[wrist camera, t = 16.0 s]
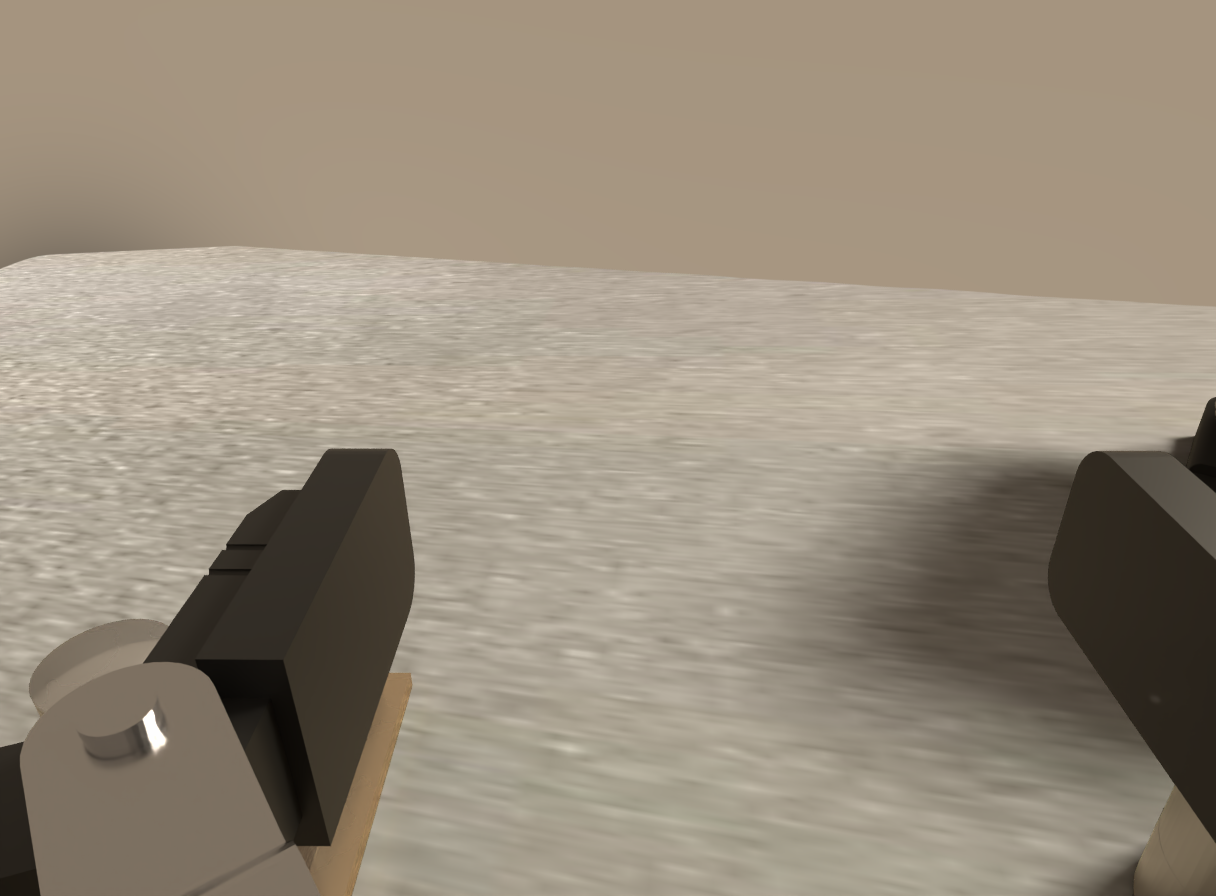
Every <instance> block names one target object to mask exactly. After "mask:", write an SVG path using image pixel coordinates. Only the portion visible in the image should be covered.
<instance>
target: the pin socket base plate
mask: <svg viewBox="0 0 1216 896" xmlns="http://www.w3.org/2000/svg"><path fill="white" fill-rule="evenodd" d="M411 689H412V679H411V673H389V674H388V677H387V680H386V683H385V686H384V689H383V692H382V695H381V698H380V701H379V704H378V707H377V710H376V713H375V716H374V719H373V722H372V725H371V728H370V731H369V734H368V737H367V740H366V743H365V746H364V749H363V752H362V755H361V758H360V761H359V764H358V767H357V770H356V773H355V776H354V779H353V782H352V785H351V788H350V790H349V793H348V796H347V799H346V802H345V805H344V808H343V811H342V814H341V817H340V820H339V823H338V826H337V829H336V832H335V835H334V838H333V841H332V844H331V846H297V848H298V850H299V851H300V853H301V855H302V857H303V859H304V861H305V863H306V865H307V867H308V869H309V872H310V874H311V876H312V878H313V880H314V882H315V884H316V887H317V889H318V891H319V893H320V895H321V896H352V892H353V889H354V885H355V882H356V878H357V875H358V871H359V868H360V865H361V861H362V858H363V854H364V851H365V847H366V844H367V840H368V837H369V833H370V830H371V827H372V823H373V820H374V816H375V813H376V809H377V806H378V802H379V799H380V796H381V792H382V789H383V785H384V782H385V778H386V775H387V771H388V768H389V765H390V761H391V758H392V754H393V751H394V747H395V744H396V740H397V737H398V734H399V730H400V727H401V723H402V720H403V716H404V713H405V709H406V706H407V702H408V699H409V696H410V692H411Z"/></svg>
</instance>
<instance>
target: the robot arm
mask: <svg viewBox="0 0 1216 896" xmlns="http://www.w3.org/2000/svg"><path fill="white" fill-rule="evenodd" d="M226 546H227V548H226V550H222V551H221V553H220V554H219V555H218V557H217V558H216V560H215V561H214V562H213V564H212V565H211V567H210V568H209V575H204V577H203V578H202V580H201V581H200V582H199V584H198V585H197V587H196V588H195V590H194V591H193V592H192V594H191V595H190V597H189V598H188V600H187V601H186V602H185V604H184V605H183V607H182V608H181V610H180V611H179V612H178V614H177V615H176V617H175V618H174V620H173V621H172V622H171V624H170V625H169V627H168V628H167V630H166V631H165V632H164V634H163V635H162V637H161V638H160V640H159V641H158V642H157V644H156V645H155V647H154V648H153V650H152V651H151V652H150V654H149V655H148V657H147V658H146V659H145V661H144V662H143V664H138V665H133V666H129V667H125V668H121V669H118V670H115V671H112V672H110V673H107V674H104V675H102V676H100V677H97V678H95V679H93V680H91V681H89V682H87V683H85V684H83V685H82V686H80V687H78V688H76V689H75V690H73V691H72V692H70V693H69V694H67V695H66V696H64V697H63V698H61V699H60V700H59V701H58V702H56V703H55V704H54V705H53V706H52V707H50V708H49V709H48V710H47V711H46V712H45V713H44V714H43V715H42V716H41V717H40V719H39V720H38V721H37V722H36V723H35V725H34V726H33V728H32V729H31V730H30V732H29V733H28V735H27V737H26V739H25V741H24V742H21V743H17V744H13V745H9V746H4V747H0V896H321V895H320V893H319V891H318V889H317V887H316V884H315V882H314V880H313V878H312V876H311V874H310V872H309V869H308V867H307V865H306V863H305V861H304V859H303V857H302V855H301V853H300V851H299V850H298V848H297V846H331V844H332V841H333V838H334V835H335V832H336V829H337V826H338V823H339V820H340V817H341V814H342V811H343V808H344V805H345V802H346V799H347V796H348V793H349V790H350V788H351V785H352V782H353V779H354V776H355V773H356V770H357V767H358V764H359V761H360V758H361V755H362V752H363V749H364V746H365V743H366V740H367V737H368V734H369V731H370V728H371V725H372V722H373V719H374V716H375V713H376V710H377V707H378V704H379V701H380V698H381V695H382V692H383V689H384V686H385V683H386V680H387V677H388V674H389V671H390V668H391V665H392V662H393V659H394V656H395V653H396V650H397V647H398V644H399V641H400V638H401V635H402V632H403V630H404V627H405V624H406V621H407V618H408V615H409V612H410V608H411V604H412V599H413V592H414V581H415V564H414V554H413V547H412V540H411V533H410V526H409V519H408V512H407V505H406V498H405V491H404V484H403V477H402V470H401V465H400V461H399V457H398V455H397V453H396V451H395V450H394V449H328V450H327V451H326V452H325V453H324V455H323V456H322V458H321V459H320V461H319V463H318V464H317V466H316V467H315V469H314V471H313V472H312V474H311V475H310V477H309V479H308V480H307V482H306V483H305V485H304V487H303V488H302V490H282V491H280V492H279V493H277V494H276V495H275V496H273V497H272V498H270V499H269V500H267V501H266V502H265V503H263V504H262V505H260V506H259V507H257V508H256V509H255V510H253V511H252V512H250V513H249V514H247V515H246V517H245V518H244V520H243V521H242V523H241V524H240V525H239V527H238V528H237V530H236V531H235V533H234V534H233V535H232V537H231V538H230V540H229V541H228V543H227V544H226ZM1048 585H1049V592H1050V596H1051V600H1052V603H1053V606H1054V608H1055V610H1056V612H1057V614H1058V616H1059V617H1060V619H1061V620H1062V621H1063V623H1064V624H1065V626H1066V627H1067V629H1068V630H1069V632H1070V633H1071V634H1072V636H1073V637H1074V639H1075V640H1076V642H1077V643H1078V645H1079V646H1080V648H1081V649H1082V650H1083V652H1084V653H1085V655H1086V656H1087V658H1088V659H1089V661H1090V662H1091V663H1092V665H1093V666H1094V668H1095V669H1096V671H1097V672H1098V674H1099V675H1100V677H1101V678H1102V679H1103V681H1104V682H1105V684H1106V685H1107V687H1108V688H1109V690H1110V691H1111V692H1112V694H1113V695H1114V697H1115V698H1116V700H1117V701H1118V703H1119V704H1120V706H1121V707H1122V708H1123V710H1124V711H1125V713H1126V714H1127V716H1128V717H1129V719H1130V720H1131V721H1132V723H1133V724H1134V726H1135V727H1136V729H1137V730H1138V732H1139V733H1140V734H1141V736H1142V737H1143V739H1144V740H1145V742H1146V743H1147V745H1148V746H1149V748H1150V749H1151V750H1152V752H1153V753H1154V755H1155V756H1156V758H1157V759H1158V761H1159V762H1160V763H1161V765H1162V766H1163V768H1164V769H1165V771H1166V772H1167V774H1168V775H1169V777H1170V778H1171V779H1172V781H1173V782H1174V784H1175V786H1174V788H1173V790H1172V792H1171V794H1170V796H1169V799H1168V801H1167V803H1166V805H1165V807H1164V808H1163V811H1162V813H1161V815H1160V817H1159V819H1158V821H1157V823H1156V826H1155V828H1154V830H1153V832H1152V834H1151V836H1150V839H1149V841H1148V843H1147V845H1146V847H1145V849H1144V851H1143V854H1142V856H1141V858H1140V860H1139V862H1138V865H1137V868H1136V871H1135V874H1134V896H1216V493H1215V492H1214V491H1213V490H1212V489H1210V488H1209V487H1208V486H1207V485H1206V484H1205V483H1203V482H1202V481H1201V480H1200V479H1199V478H1198V477H1197V476H1195V475H1194V474H1193V473H1192V472H1191V471H1190V470H1188V469H1187V468H1186V467H1185V466H1184V465H1183V464H1181V463H1180V462H1179V461H1178V460H1177V459H1176V458H1174V457H1173V456H1172V455H1170V454H1168V453H1166V452H1161V451H1095V452H1092V453H1090V454H1088V455H1087V456H1086V457H1085V458H1084V459H1083V460H1082V462H1081V463H1080V465H1079V467H1078V470H1077V473H1076V476H1075V479H1074V482H1073V486H1072V489H1071V492H1070V496H1069V499H1068V502H1067V505H1066V509H1065V512H1064V515H1063V519H1062V522H1061V525H1060V528H1059V532H1058V535H1057V538H1056V542H1055V545H1054V548H1053V551H1052V555H1051V558H1050V562H1049V569H1048Z"/></svg>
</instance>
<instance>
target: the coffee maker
mask: <svg viewBox="0 0 1216 896" xmlns="http://www.w3.org/2000/svg"><path fill="white" fill-rule="evenodd" d="M1186 468H1187V469H1188V470H1190V471H1191V472H1192V473H1193V474H1194V475H1195V476H1197V477H1198V478H1199V479H1200V480H1201V481H1202V482H1203V483H1205V484H1206V485H1207V486H1208V487H1209V488H1210V489H1212V490H1213V491H1214V492H1215V493H1216V397H1214V398H1212V399H1210V400H1209V401H1208V403H1207V405H1206V408H1205V411H1204V413H1203V416H1202V419H1201V421H1200V424H1199V427H1198V429H1197V432H1196V435H1195V438H1194V441H1193V445H1192V448H1191V452H1190V455H1189V459H1188V462H1187V465H1186Z"/></svg>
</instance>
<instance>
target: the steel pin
mask: <svg viewBox="0 0 1216 896" xmlns="http://www.w3.org/2000/svg"><path fill="white" fill-rule="evenodd" d="M167 628H168V626H167V625H165V624H163V623H161V622H158V621H154V620H147V619H130V620H122V621H116V622H112V623H107V624H104V625H101V626H98V627H95V628H92V629H90V630H87V631H85V632H83V633H81V634H79V635H77V636H75V637H73V638H71V639H69V640H68V641H66V642H65V643H63V644H61V645H60V646H59V647H57V648H56V649H55V650H53V651H52V652H51V653H50V654H49V655H48V656H47V657H46V658H45V659H44V660H43V661H42V662H41V663H40V664H39V666H38V667H37V668H36V670H35V671H34V673H33V675H32V677H31V680H30V684H29V693H30V697H31V699H32V701H33V703H34V705H35V707H36V709H37V711H38V713H39V715H40V717H41V716H42V715H43V714H44V713H45V712H46V711H47V710H48V709H49V708H50V707H52V706H53V705H54V704H55V703H56V702H58V701H59V700H60V699H61V698H63V697H64V696H66V695H67V694H69V693H70V692H72V691H73V690H75V689H76V688H78V687H80V686H82V685H83V684H85V683H87V682H89V681H91V680H93V679H95V678H97V677H100V676H102V675H104V674H107V673H110V672H112V671H115V670H118V669H121V668H125V667H129V666H133V665H138V664H143V662H144V661H145V659H146V658H147V657H148V655H149V654H150V652H151V651H152V650H153V648H154V647H155V645H156V644H157V642H158V641H159V640H160V638H161V637H162V635H163V634H164V632H165V631H166V630H167Z"/></svg>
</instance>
